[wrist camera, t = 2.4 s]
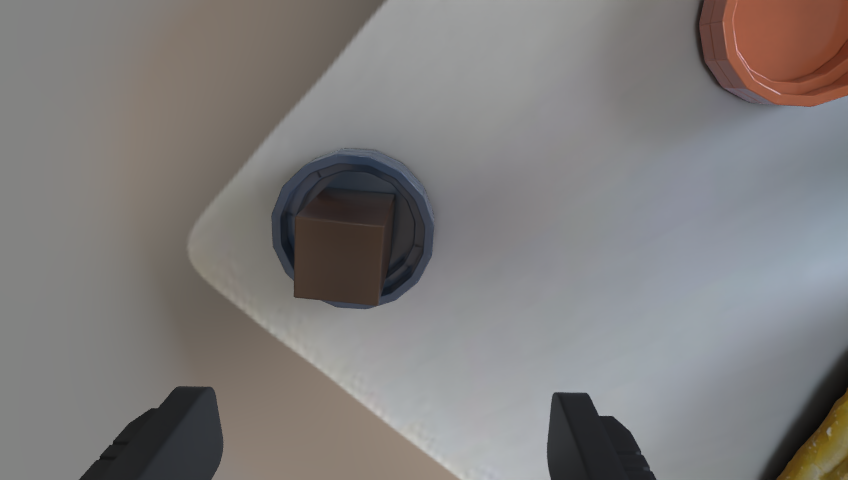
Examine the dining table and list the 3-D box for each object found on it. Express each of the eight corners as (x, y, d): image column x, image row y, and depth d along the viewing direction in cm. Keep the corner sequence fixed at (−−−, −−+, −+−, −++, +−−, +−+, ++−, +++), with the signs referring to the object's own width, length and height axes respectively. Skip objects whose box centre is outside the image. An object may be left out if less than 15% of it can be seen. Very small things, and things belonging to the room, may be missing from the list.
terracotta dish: (660, 56, 25) (685, 54, 22) (769, -125, 22) (811, -150, 20) (796, 131, 26) (834, 136, 23) (916, -34, 23) (973, -47, 21)
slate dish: (265, 253, 29) (249, 269, 26) (318, 120, 26) (306, 125, 24) (395, 310, 30) (392, 332, 27) (459, 188, 27) (461, 199, 25)
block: (322, 253, 28) (293, 298, 22) (324, 186, 27) (294, 216, 21) (390, 260, 28) (378, 306, 23) (395, 194, 27) (384, 225, 21)
